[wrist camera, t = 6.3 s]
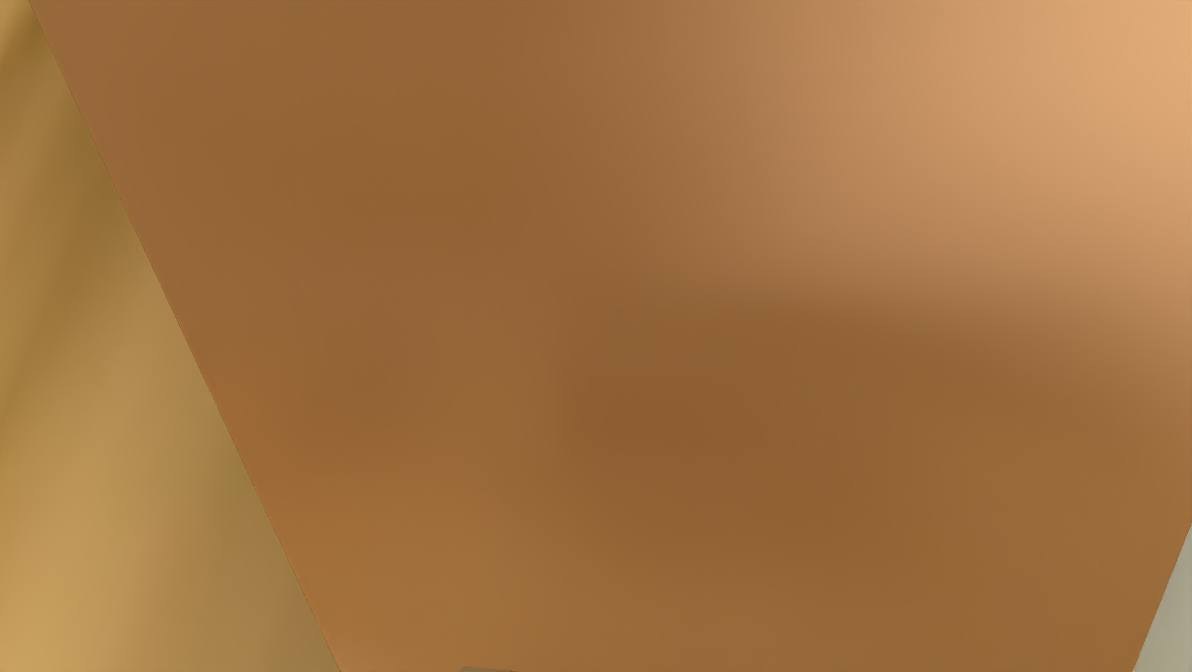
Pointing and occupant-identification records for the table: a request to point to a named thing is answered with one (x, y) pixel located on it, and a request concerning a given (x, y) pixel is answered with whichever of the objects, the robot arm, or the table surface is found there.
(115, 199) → the table surface
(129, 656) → the table surface
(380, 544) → the tile
